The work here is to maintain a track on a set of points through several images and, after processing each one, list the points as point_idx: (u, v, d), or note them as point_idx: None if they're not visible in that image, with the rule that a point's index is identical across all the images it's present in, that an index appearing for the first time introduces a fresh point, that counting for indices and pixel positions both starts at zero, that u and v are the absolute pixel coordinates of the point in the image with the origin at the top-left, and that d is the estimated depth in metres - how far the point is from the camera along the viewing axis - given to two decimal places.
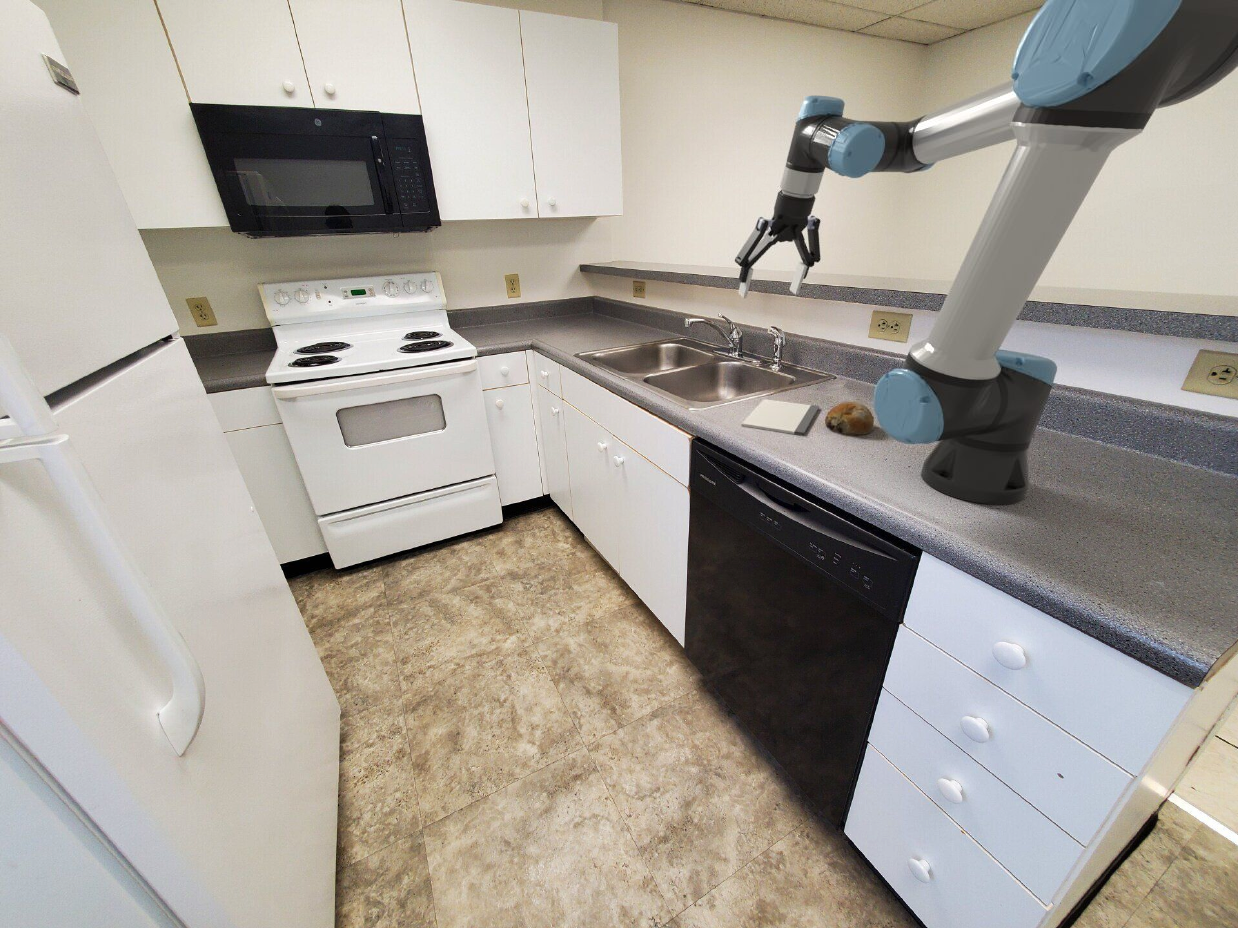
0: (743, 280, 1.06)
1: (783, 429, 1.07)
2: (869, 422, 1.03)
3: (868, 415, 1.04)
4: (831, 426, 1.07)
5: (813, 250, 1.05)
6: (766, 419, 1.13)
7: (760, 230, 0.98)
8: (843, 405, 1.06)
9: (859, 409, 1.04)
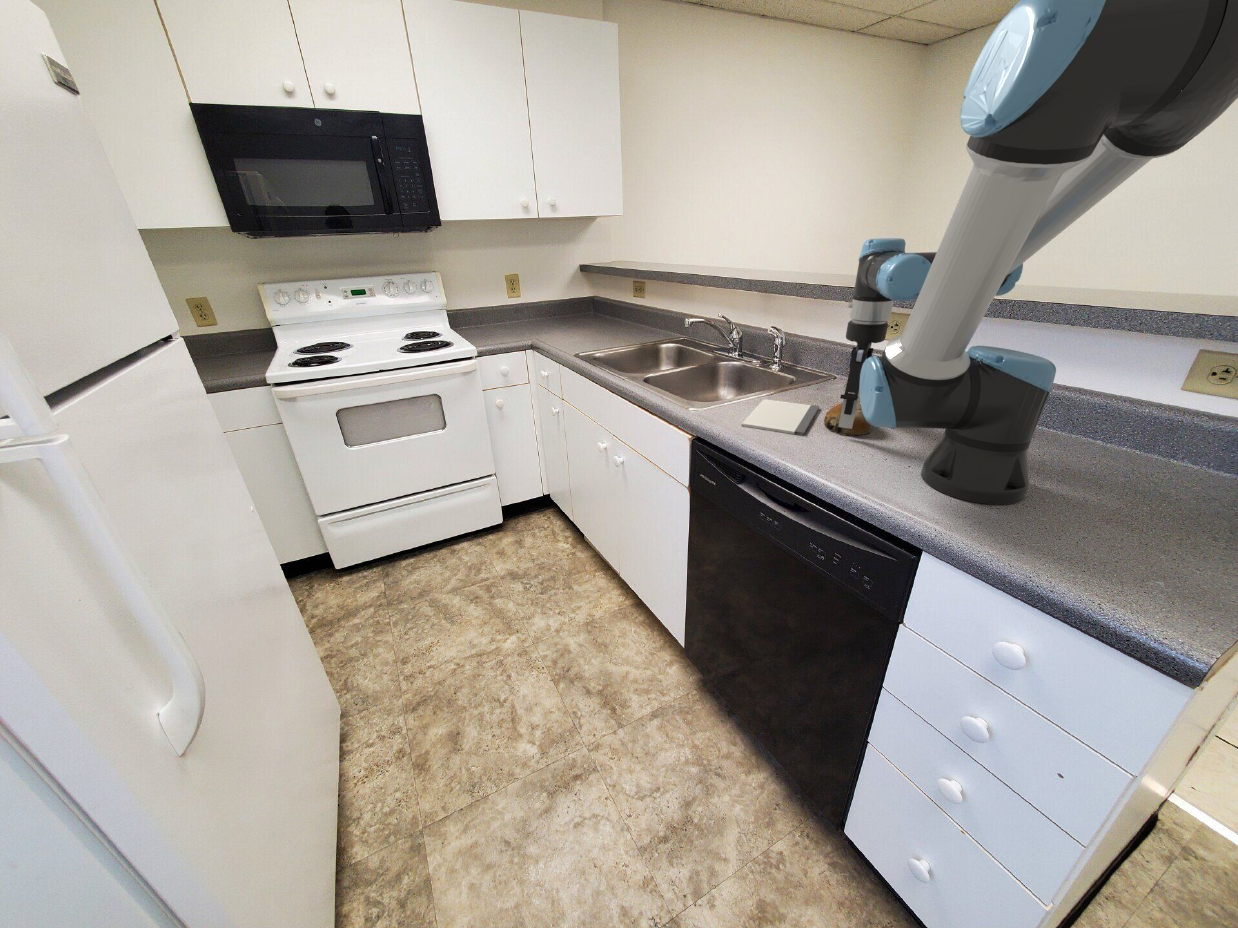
0: (851, 412, 1.00)
1: (783, 429, 1.07)
2: None
3: None
4: (830, 426, 1.07)
5: None
6: (766, 419, 1.13)
7: (863, 361, 0.96)
8: None
9: (858, 409, 1.04)
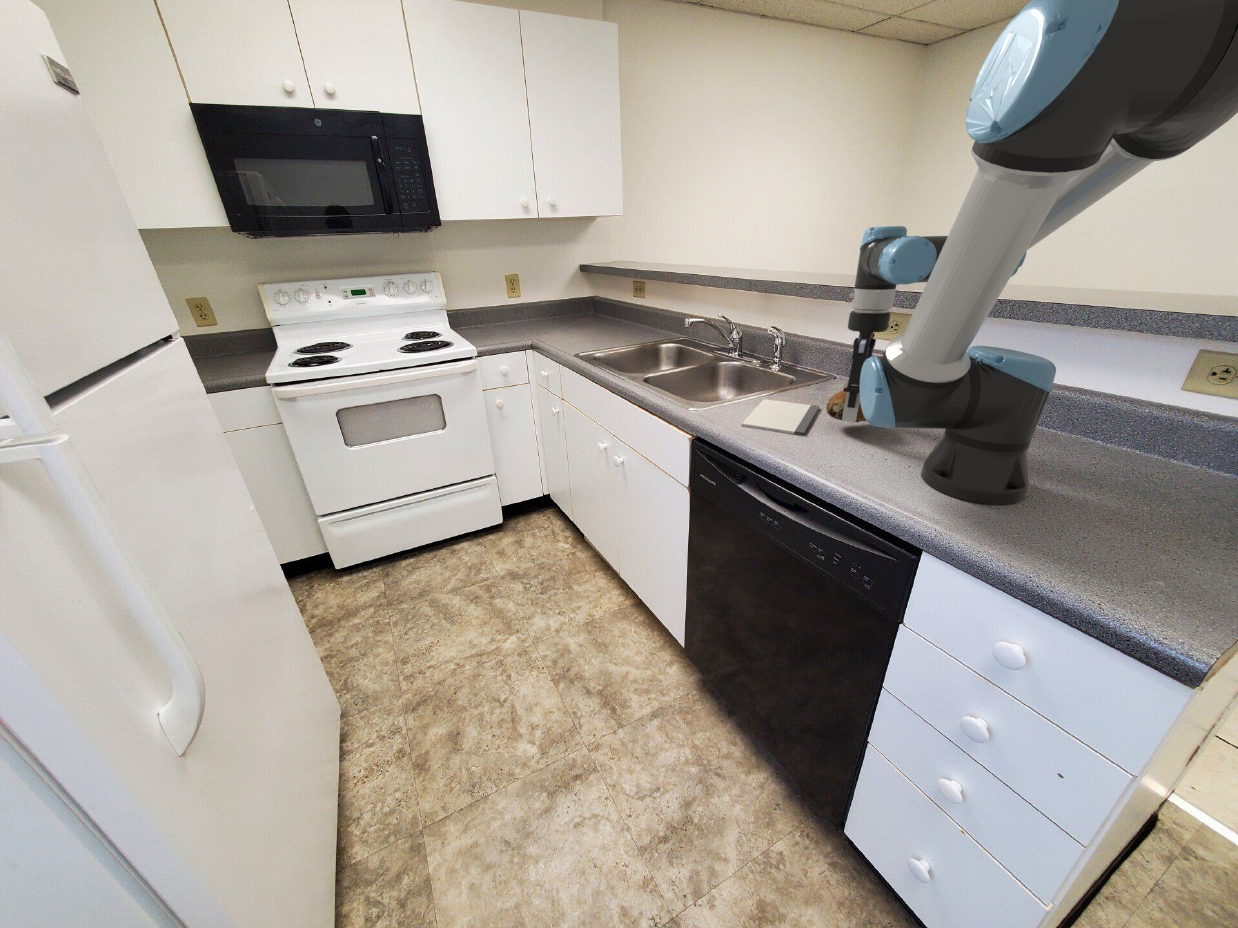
0: (855, 405, 0.99)
1: (783, 429, 1.07)
2: None
3: None
4: (833, 413, 1.05)
5: None
6: (766, 419, 1.13)
7: (866, 353, 0.95)
8: None
9: None
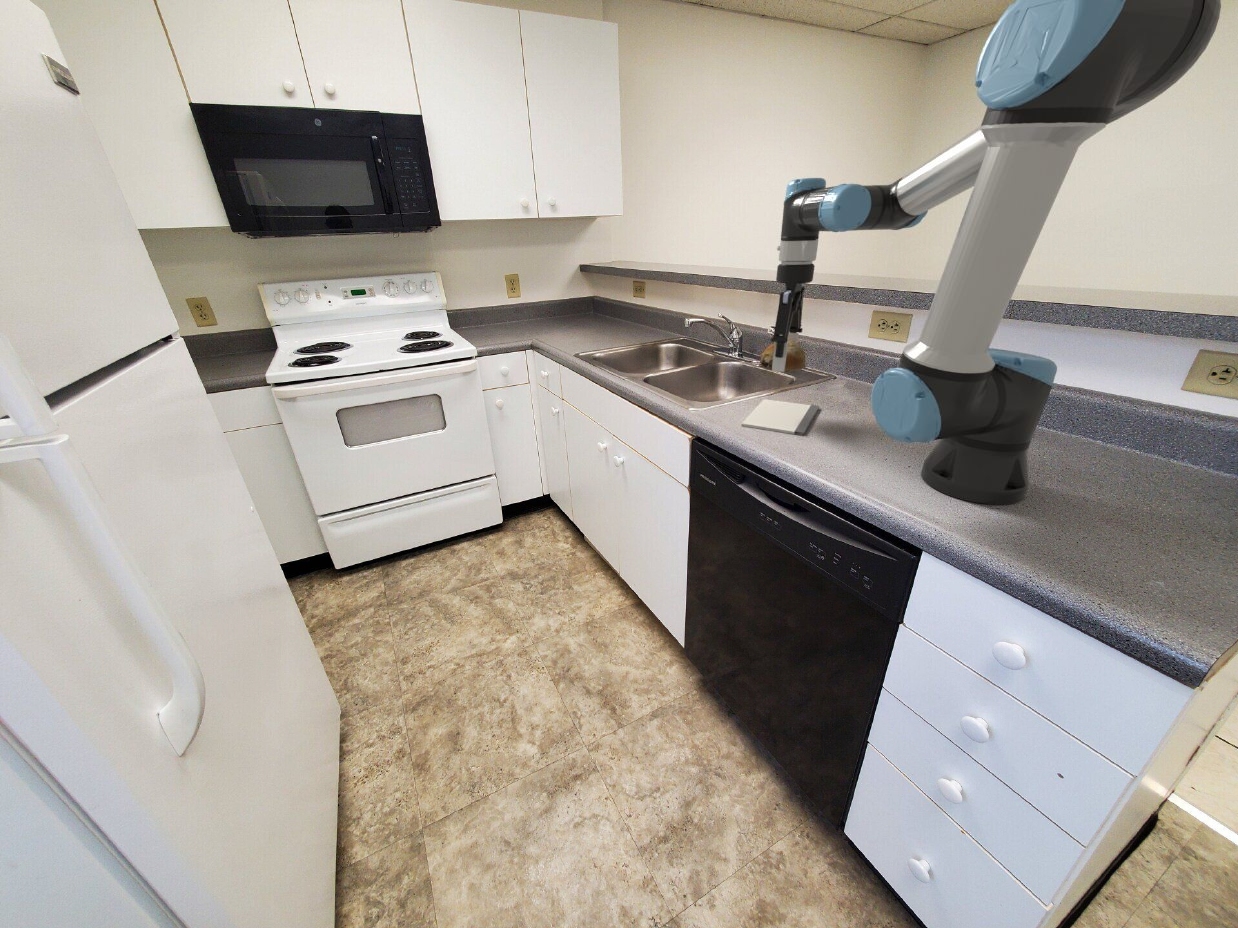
0: (782, 354, 1.04)
1: (783, 429, 1.07)
2: (799, 358, 1.06)
3: (799, 351, 1.06)
4: (765, 364, 1.09)
5: None
6: (766, 419, 1.13)
7: (789, 303, 0.99)
8: None
9: (791, 345, 1.07)
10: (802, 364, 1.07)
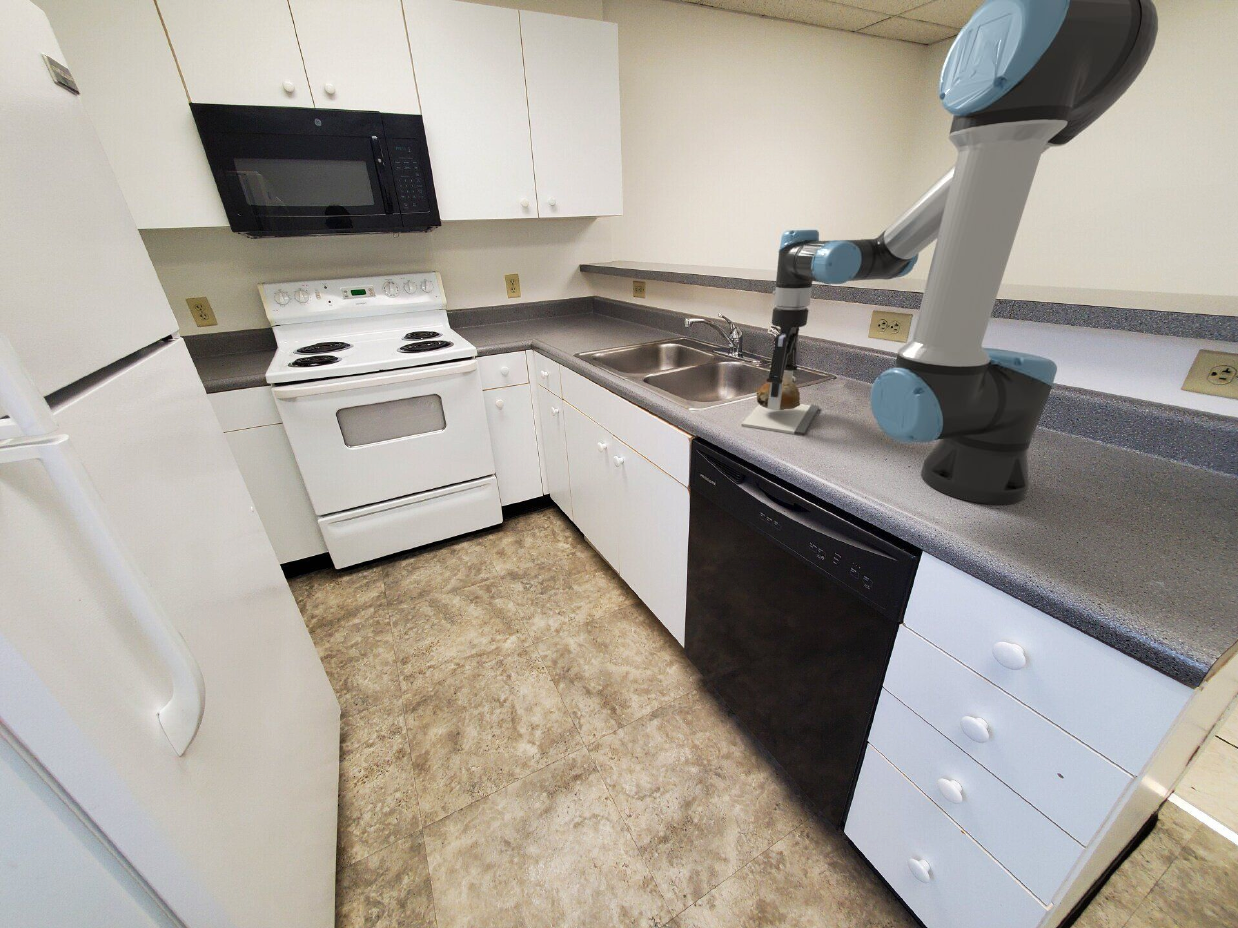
0: (777, 394, 1.08)
1: (783, 429, 1.07)
2: (794, 397, 1.10)
3: (793, 390, 1.10)
4: (761, 401, 1.13)
5: None
6: (766, 419, 1.13)
7: (784, 347, 1.03)
8: None
9: (786, 384, 1.11)
10: (796, 402, 1.11)
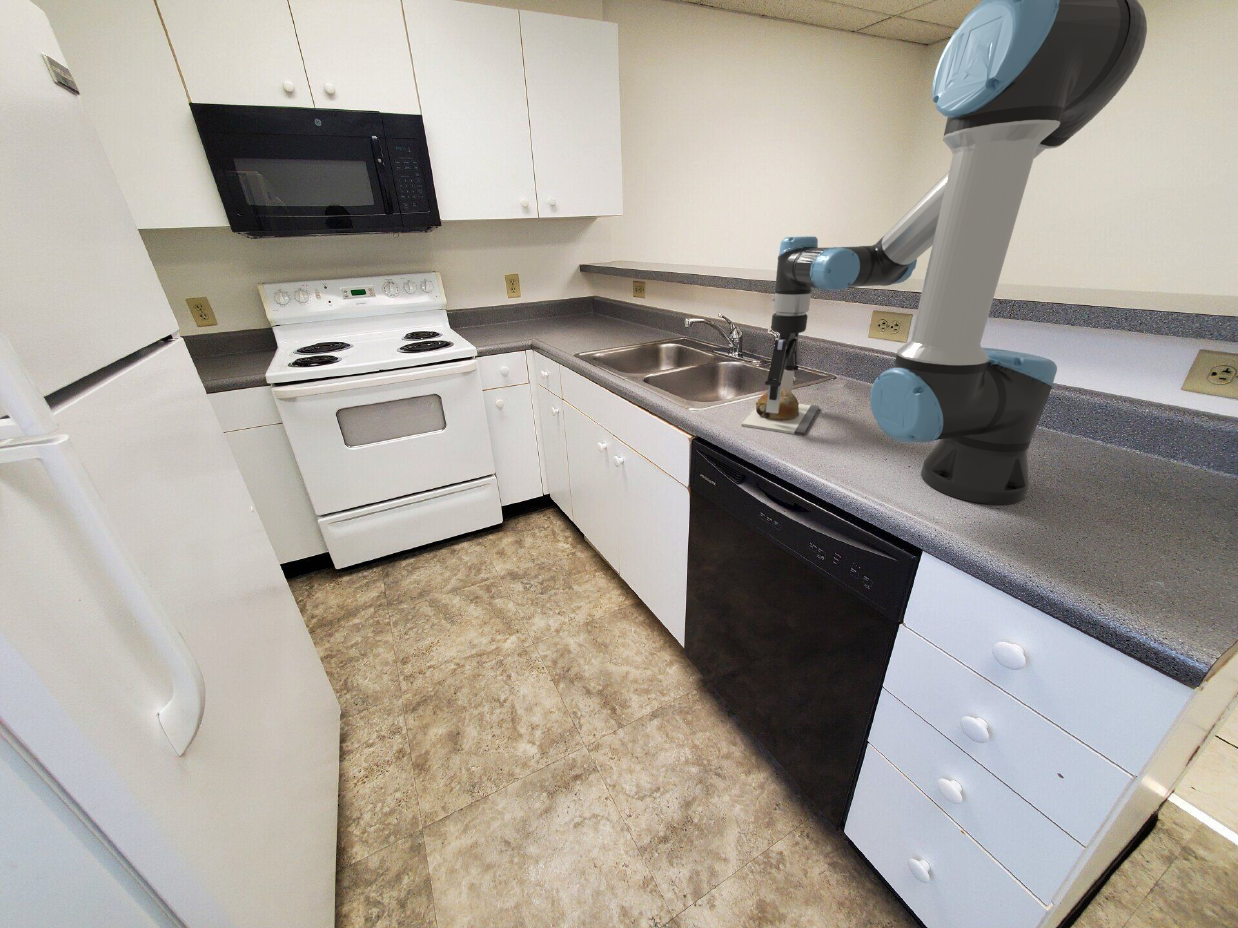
0: (776, 397, 1.07)
1: (783, 429, 1.07)
2: (793, 407, 1.11)
3: (792, 401, 1.11)
4: (760, 412, 1.14)
5: None
6: (766, 419, 1.13)
7: (783, 350, 1.03)
8: None
9: (784, 395, 1.12)
10: (795, 413, 1.12)
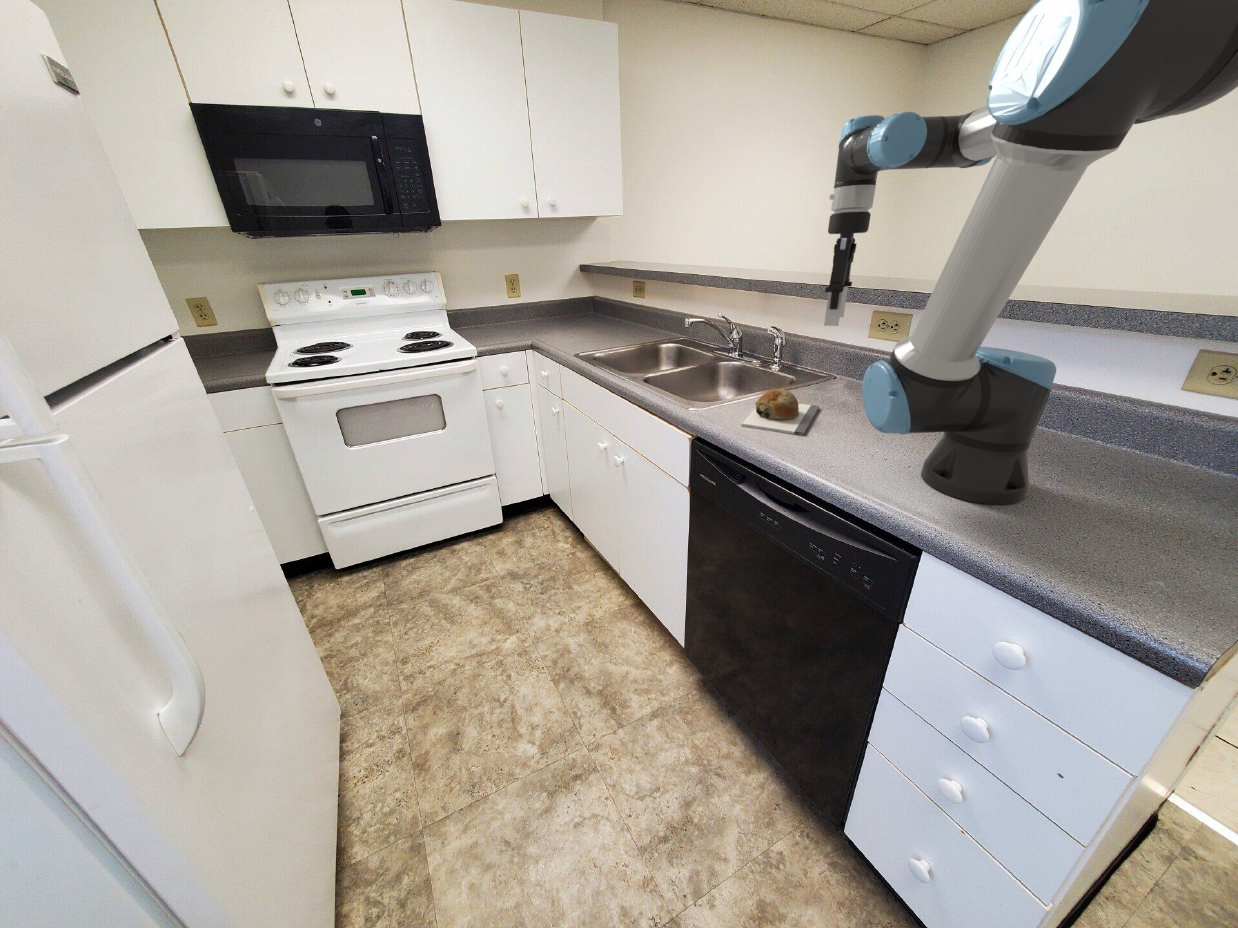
0: (837, 306, 0.96)
1: (783, 429, 1.07)
2: (792, 407, 1.11)
3: (792, 401, 1.11)
4: (760, 412, 1.14)
5: None
6: (766, 419, 1.13)
7: (847, 249, 0.92)
8: (770, 392, 1.14)
9: (784, 395, 1.12)
10: (795, 413, 1.12)
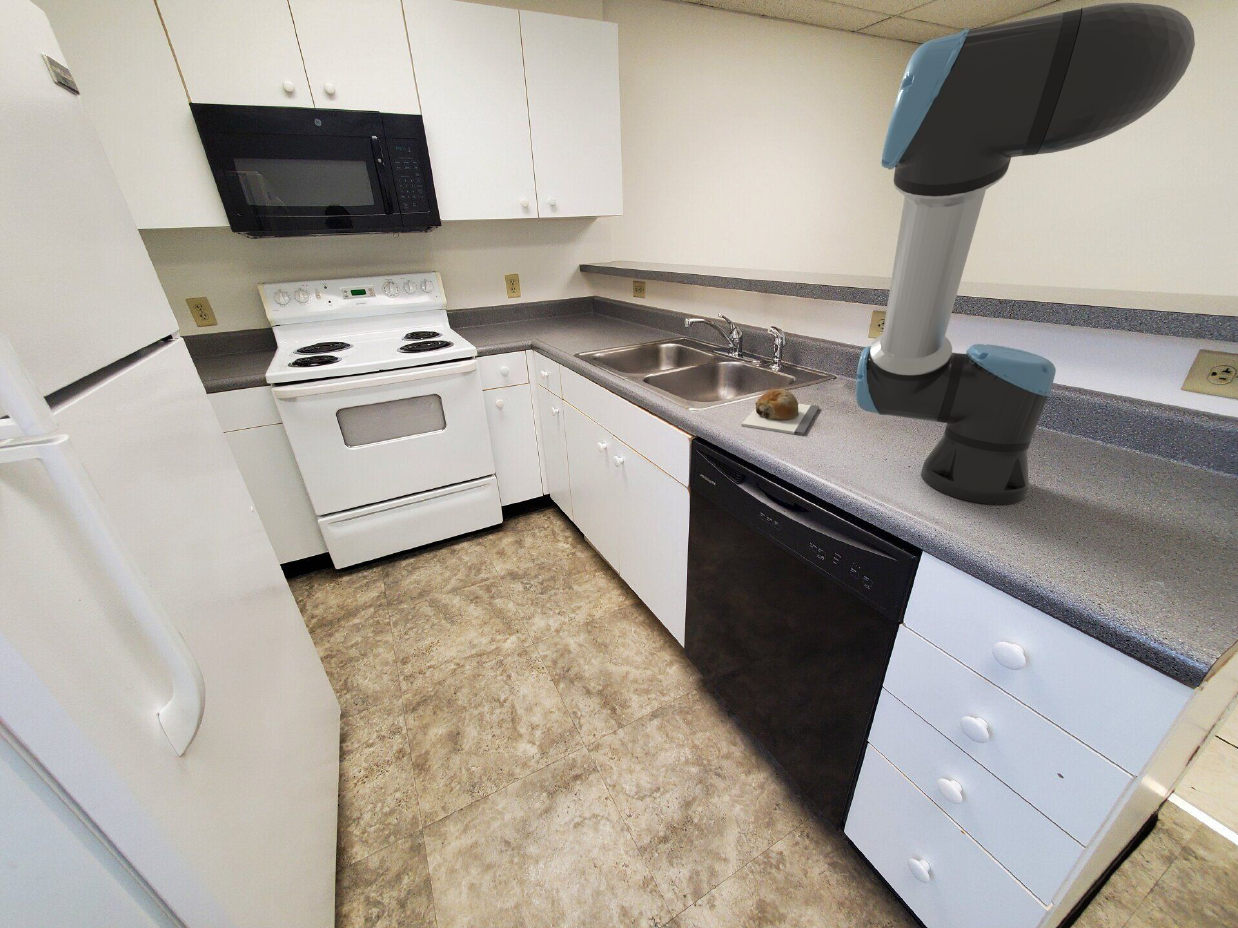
0: None
1: (783, 429, 1.07)
2: (792, 407, 1.11)
3: (792, 401, 1.11)
4: (759, 412, 1.14)
5: None
6: (766, 419, 1.13)
7: None
8: (770, 392, 1.14)
9: (784, 395, 1.12)
10: (795, 413, 1.12)
